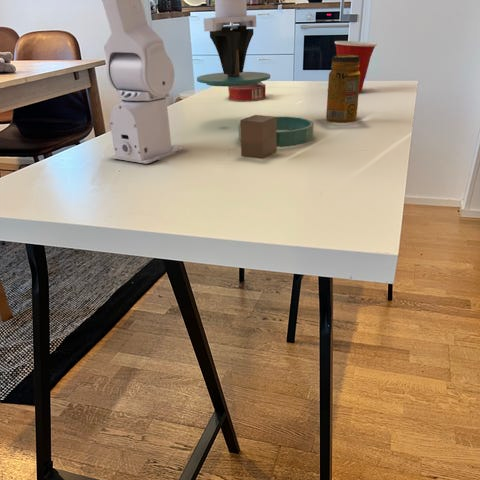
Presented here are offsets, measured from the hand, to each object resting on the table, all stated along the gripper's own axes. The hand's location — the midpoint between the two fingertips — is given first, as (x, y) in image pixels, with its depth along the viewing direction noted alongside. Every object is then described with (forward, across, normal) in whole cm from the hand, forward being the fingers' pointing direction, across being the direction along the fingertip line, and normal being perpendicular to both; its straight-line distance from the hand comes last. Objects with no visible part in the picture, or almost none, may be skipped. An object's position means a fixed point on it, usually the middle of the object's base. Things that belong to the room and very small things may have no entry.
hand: (233, 73), depth 92 cm
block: (+10, -18, -16) cm, 26 cm away
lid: (+1, 0, 0) cm, 1 cm away
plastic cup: (+10, +50, -5) cm, 51 cm away
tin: (+10, -6, -13) cm, 18 cm away
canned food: (+10, +32, +17) cm, 37 cm away
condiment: (+10, +12, -18) cm, 24 cm away
